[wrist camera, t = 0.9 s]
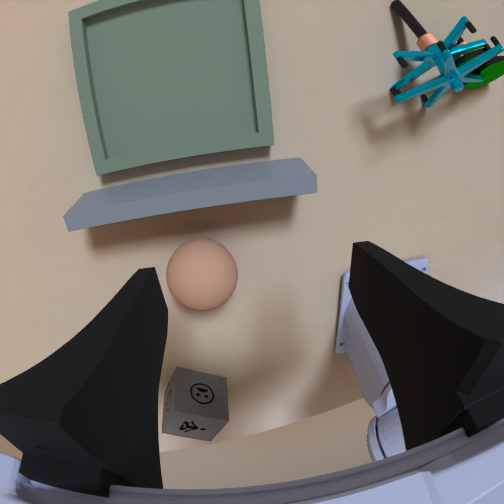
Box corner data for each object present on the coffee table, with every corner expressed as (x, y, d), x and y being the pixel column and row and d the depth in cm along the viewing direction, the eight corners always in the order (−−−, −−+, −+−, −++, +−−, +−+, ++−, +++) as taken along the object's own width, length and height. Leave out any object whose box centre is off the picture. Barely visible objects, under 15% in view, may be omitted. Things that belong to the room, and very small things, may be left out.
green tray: (271, 141, 18) (274, 145, 17) (102, 170, 18) (96, 175, 17) (253, -25, 12) (255, -30, 12) (75, 14, 12) (68, 11, 11)
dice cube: (176, 366, 28) (174, 410, 23) (226, 377, 29) (229, 420, 25) (164, 392, 30) (161, 432, 26) (209, 401, 31) (210, 441, 27)
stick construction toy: (380, 126, 16) (467, 49, 8) (323, 38, 16) (375, -50, 9) (477, 109, 18) (540, 67, 11) (433, 41, 19) (483, -9, 11)
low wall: (301, 173, 19) (316, 192, 16) (88, 207, 19) (68, 231, 16) (300, 157, 19) (316, 174, 16) (84, 193, 18) (63, 216, 15)
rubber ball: (239, 277, 23) (244, 320, 19) (178, 285, 23) (173, 329, 19) (230, 222, 21) (234, 259, 17) (163, 231, 20) (152, 270, 17)
